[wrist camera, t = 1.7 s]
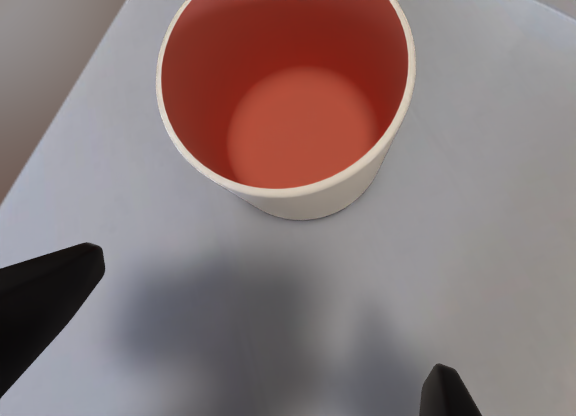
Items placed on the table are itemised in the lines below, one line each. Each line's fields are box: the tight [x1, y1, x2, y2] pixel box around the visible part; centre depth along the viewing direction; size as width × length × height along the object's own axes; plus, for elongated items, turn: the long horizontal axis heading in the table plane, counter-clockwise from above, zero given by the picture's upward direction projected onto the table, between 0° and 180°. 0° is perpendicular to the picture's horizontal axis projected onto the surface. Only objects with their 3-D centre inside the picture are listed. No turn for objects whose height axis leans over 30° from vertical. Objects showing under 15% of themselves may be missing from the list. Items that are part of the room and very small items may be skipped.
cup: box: [156, 0, 416, 220], centre depth 19 cm, size 10×10×10 cm
